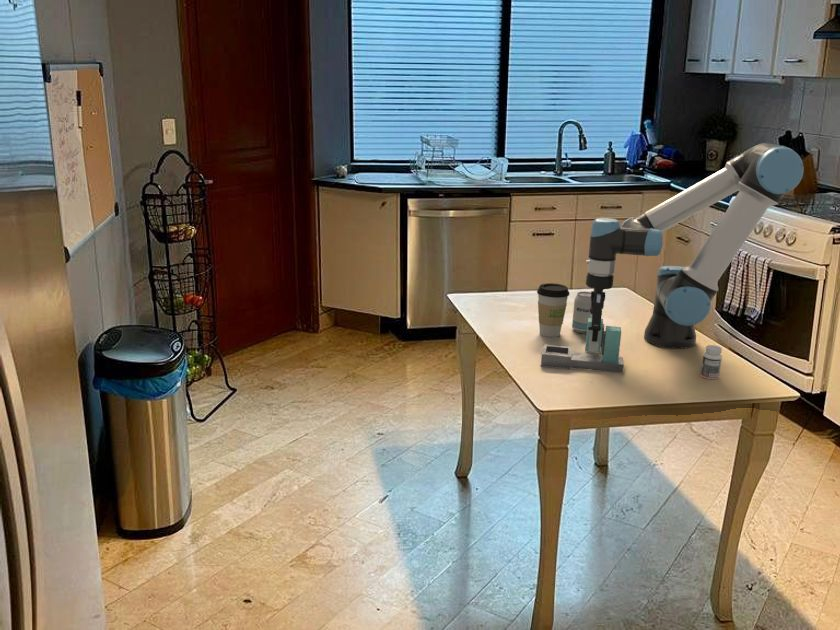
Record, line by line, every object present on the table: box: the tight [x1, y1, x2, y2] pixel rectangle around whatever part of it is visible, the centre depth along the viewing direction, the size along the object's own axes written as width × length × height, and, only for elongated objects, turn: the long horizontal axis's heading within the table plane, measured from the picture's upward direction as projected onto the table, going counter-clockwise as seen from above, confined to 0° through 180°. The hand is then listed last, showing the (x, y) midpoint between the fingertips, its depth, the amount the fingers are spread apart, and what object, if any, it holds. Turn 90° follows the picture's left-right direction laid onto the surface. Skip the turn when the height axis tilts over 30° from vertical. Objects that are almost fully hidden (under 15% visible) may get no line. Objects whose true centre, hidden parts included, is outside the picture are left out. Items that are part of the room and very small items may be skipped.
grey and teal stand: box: [540, 325, 625, 374], centre depth 219 cm, size 22×8×11 cm, turn 78°
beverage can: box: [571, 291, 592, 334], centre depth 248 cm, size 7×7×12 cm
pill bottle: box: [700, 344, 723, 380], centre depth 214 cm, size 5×5×8 cm
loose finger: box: [585, 318, 605, 354], centre depth 232 cm, size 5×4×9 cm
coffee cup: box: [536, 282, 570, 338], centre depth 243 cm, size 10×10×15 cm
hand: (593, 343), depth 232 cm, fingers open, 13 cm apart
